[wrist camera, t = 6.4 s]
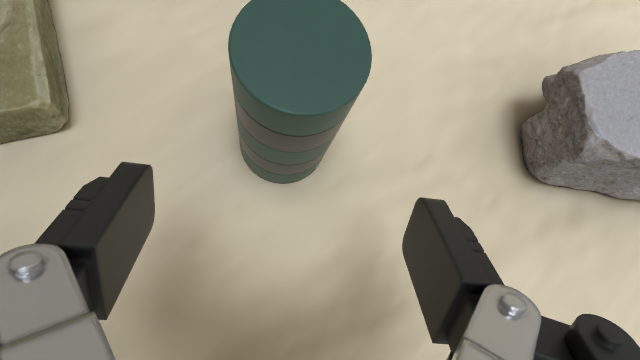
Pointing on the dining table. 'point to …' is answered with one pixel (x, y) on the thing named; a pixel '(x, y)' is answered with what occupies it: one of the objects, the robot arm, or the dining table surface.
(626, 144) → the decorative stone
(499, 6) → the dining table surface
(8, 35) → the decorative tile
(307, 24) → the chip column
